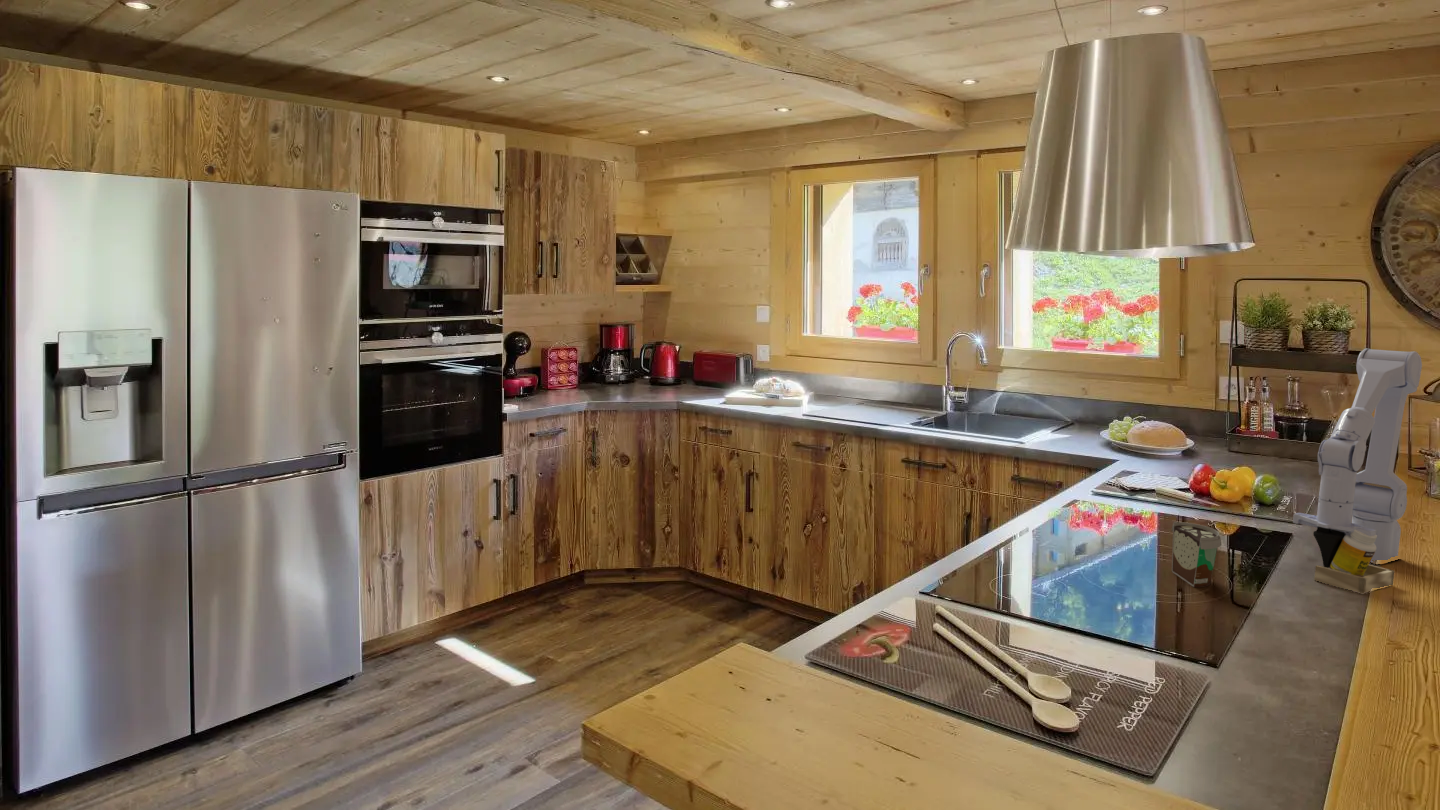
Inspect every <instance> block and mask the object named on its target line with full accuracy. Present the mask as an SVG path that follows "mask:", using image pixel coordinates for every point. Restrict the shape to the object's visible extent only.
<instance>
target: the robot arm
mask: <svg viewBox="0 0 1440 810" xmlns="http://www.w3.org/2000/svg"><path fill="white" fill-rule="evenodd" d="M1355 368H1356V373H1357V378H1358V381H1359V385H1358V387H1357V390H1356V393H1355V395H1354V396H1355V397H1354V400H1353V402H1352V405H1351V407H1350V408H1346V409H1344V410H1343V411H1342V412H1341V414H1340V416H1339V418H1338V421H1337V422H1336V425H1335V426H1334V429H1333V431H1332V433H1331V434H1330V437H1329V438H1327V439H1323V440H1322V441H1321V443H1320V445H1319V448H1318V452H1317V463H1318V475H1319V476H1320V483H1319V484H1320V485H1319V493H1318V503H1317V513H1316V515H1313V514H1308V513H1303V512H1296V513H1293V515H1292V516H1293V517H1292V523H1293V524H1296V525H1299V524H1301V525H1305V526H1308V527H1313V528H1316V530H1314V531H1313V534H1312V535H1313V536H1314V538H1315V540H1316V543H1317V545H1318V547H1319V551H1320V555H1321V559H1322V566H1323V567H1326V568H1329V567H1330V565H1331V563H1332V561H1333V559H1334V556H1335V554H1336V552H1337V550H1338V548H1339V546H1340V544H1341V542H1342V540H1343V538H1344V536H1345V535H1351V532H1354V530H1357V531H1360V532H1362V533H1364V534H1366V535H1368V536H1374V535H1377V538H1376V540H1375V542H1374V544H1375V545H1376V551H1375V553H1374V555H1373V557H1372V559H1371V562H1373V561H1372V560H1374V561H1375V560H1388V559H1390V558H1391V557H1395V556H1399V550H1400V549H1399V548H1400V542H1401V541H1400V539H1401V533H1402V532H1401V531H1402V529H1401V525H1400V523H1399V522H1398V520H1400V519H1401V518H1403V516H1404V514H1405V512H1406V509H1407V505H1408V497H1407V492H1408V486H1407V483H1406V482H1405V481H1404V480H1403V479H1401V478H1400V477H1399V476H1398V475H1397V474H1396V473H1395V472H1394V469H1395V465H1396V464H1395V463H1396V458H1397V451H1398V446H1399V445H1398V444H1399V441H1400V440H1399V439H1400V434H1401V429H1402V422H1403V418H1404V413H1405V412H1404V410H1405V405H1406V401H1407V398H1408V395H1410V394H1412V393H1416V392H1417V391H1418V387H1419V386H1420V380H1421V374H1422V369H1423V363H1422V357H1421V355H1420V354H1419V353H1418V352H1417V351H1414V350H1413V351H1412V350H1411V351H1400V350H1385V349H1371V348H1367V347H1366V348H1364V349H1362V350H1361V351H1360V352H1359V354H1358V356H1357V360H1356V367H1355ZM1373 413H1374V416H1373ZM1369 436H1370V439H1369V446H1368V449H1367V444H1366V443H1367V440H1368V438H1369ZM1367 450H1368V451H1367ZM1366 451H1367V458H1366V463H1365V469H1363V470H1361V471H1359V470H1360V469H1361V468H1362V465H1363V463H1364V460H1365V456H1366V455H1365V454H1366ZM1366 483H1367V484H1366ZM1369 484H1373V485H1369ZM1376 485H1377V486H1376ZM1378 485H1380V486H1378ZM1383 486H1385V487H1383ZM1354 527H1356V528H1354Z"/></svg>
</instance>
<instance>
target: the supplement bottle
mask: <svg viewBox="0 0 1440 810" xmlns="http://www.w3.org/2000/svg"><path fill="white" fill-rule="evenodd" d="M1354 528H1356V527H1354ZM1376 538H1377V535H1374V536H1368V535H1366V534H1364V533H1362V532H1360V531H1357V530H1354V532H1351V535H1345V536H1344V538H1343V540H1342V542H1341V544H1340V546H1339V548H1338V550H1337V552H1336V554H1335V556H1334V559H1333V561H1332V563H1331V565H1330V567H1329V568H1330V569H1334V570H1337V571H1341V572H1345V573H1348V574H1352V575H1362V576H1363V575H1364V573H1365V571H1366V569H1367V567H1368V565H1369V564H1371V563H1370V561H1371V559H1372V557H1373V555H1374V553H1375V551H1376V545H1375V544H1374V542H1375V540H1376Z"/></svg>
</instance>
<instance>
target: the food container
mask: <svg viewBox="0 0 1440 810" xmlns="http://www.w3.org/2000/svg"><path fill="white" fill-rule="evenodd" d="M1171 532H1172V551H1171V552H1172V554H1171V572H1172V573H1173V574H1174V575H1176V576H1177V577H1179V578H1180V579H1181V580H1183V581H1184V582H1186V583H1187V584H1188V585H1190V586H1191V587H1192V588H1204V587H1208V586H1210V585H1211V583H1212V578H1213V572H1214V567H1215V561H1216V555H1217V552H1218V551H1217V550H1218V548H1220V547H1221V546H1222V539H1221V535H1220V532H1219V531H1218V530H1216V529H1214V528H1213V527H1209V526H1205V525H1201V524H1196V523H1192V522H1190V523H1189V522H1185V521H1184V522H1182V521H1181V522H1180V521H1174V522H1172V527H1171Z"/></svg>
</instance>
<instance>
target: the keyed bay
mask: <svg viewBox="0 0 1440 810" xmlns="http://www.w3.org/2000/svg"><path fill="white" fill-rule="evenodd" d="M1314 569H1315V571H1314V578H1313V579H1314V580H1316V581H1315V582H1317V581H1319V582H1318V583H1320V582H1322V583H1321V584H1324V583H1326V584H1325V585H1327V584H1329V585H1328V586H1331V585H1333V586H1332V587H1334V586H1337V587H1336V588H1338V587H1341V588H1344V589H1343V590H1345V589H1348V590H1353V591H1357V592H1360V593H1364V592H1368V591H1370V590H1371V589H1372V588H1380V587H1384V586H1389V585H1393V586H1394V578H1395V570H1393V569H1389V568H1384V567H1382V566H1379V565H1375V564H1371V563H1369V565H1368V567H1367V569H1366V571H1365V573H1364V575H1363V576H1362V575H1352V574H1348V573H1345V572H1341V571H1337V570H1334V569H1330V568H1326V567H1324V566H1323V565H1315V567H1314ZM1314 580H1313V581H1314ZM1341 588H1340V589H1341ZM1348 590H1347V591H1348Z"/></svg>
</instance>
